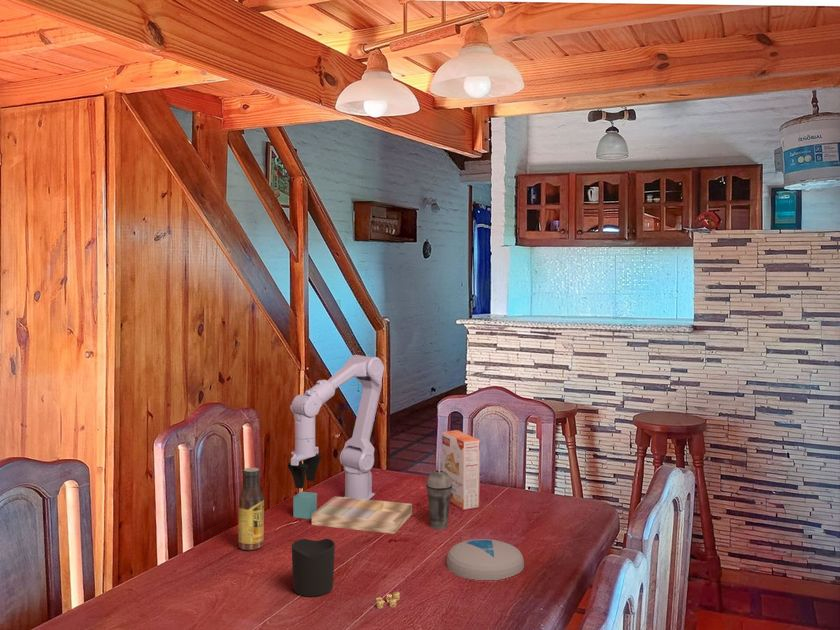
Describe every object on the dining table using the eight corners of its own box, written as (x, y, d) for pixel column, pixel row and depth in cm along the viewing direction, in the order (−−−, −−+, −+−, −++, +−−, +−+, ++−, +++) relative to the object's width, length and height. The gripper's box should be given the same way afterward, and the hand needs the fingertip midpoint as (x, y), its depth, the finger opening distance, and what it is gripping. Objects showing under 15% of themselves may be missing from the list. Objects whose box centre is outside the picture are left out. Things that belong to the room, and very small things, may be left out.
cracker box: (440, 497, 228) (441, 430, 226) (457, 495, 230) (458, 429, 229) (462, 511, 215) (462, 440, 214) (479, 508, 218) (480, 438, 216)
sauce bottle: (257, 552, 182) (257, 474, 181) (234, 550, 184) (233, 472, 182) (268, 543, 189) (267, 467, 188) (245, 541, 190) (244, 465, 189)
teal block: (300, 511, 213) (300, 491, 213) (316, 513, 212) (316, 493, 212) (293, 517, 209) (293, 496, 208) (309, 519, 207) (309, 498, 207)
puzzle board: (311, 524, 203) (311, 514, 202) (334, 506, 218) (334, 496, 218) (394, 533, 196) (394, 522, 196) (411, 514, 212) (411, 503, 212)
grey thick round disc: (460, 586, 165) (461, 564, 165) (437, 555, 183) (437, 535, 182) (536, 577, 170) (537, 556, 169) (506, 548, 188) (506, 529, 187)
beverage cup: (452, 522, 205) (453, 452, 204) (451, 532, 198) (452, 458, 197) (426, 521, 206) (427, 451, 205) (424, 530, 199) (425, 458, 197)
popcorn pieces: (399, 600, 158) (399, 591, 158) (399, 611, 153) (399, 602, 153) (376, 600, 158) (376, 591, 158) (375, 611, 153) (375, 602, 153)
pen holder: (314, 576, 169) (314, 533, 168) (343, 587, 163) (343, 543, 162) (282, 589, 162) (282, 545, 161) (311, 602, 156) (311, 556, 155)
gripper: (302, 430, 217) (302, 476, 218) (280, 441, 203) (280, 490, 204) (325, 432, 215) (325, 478, 216) (304, 443, 201) (304, 492, 202)
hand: (305, 484), depth 210 cm, fingers open, 7 cm apart
